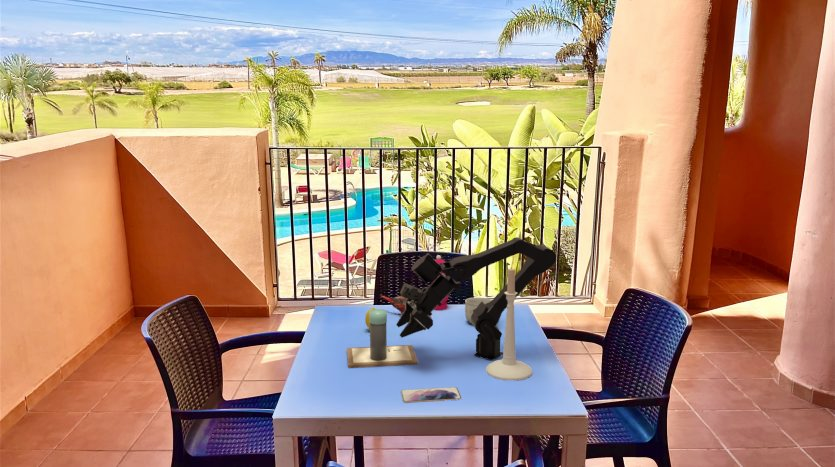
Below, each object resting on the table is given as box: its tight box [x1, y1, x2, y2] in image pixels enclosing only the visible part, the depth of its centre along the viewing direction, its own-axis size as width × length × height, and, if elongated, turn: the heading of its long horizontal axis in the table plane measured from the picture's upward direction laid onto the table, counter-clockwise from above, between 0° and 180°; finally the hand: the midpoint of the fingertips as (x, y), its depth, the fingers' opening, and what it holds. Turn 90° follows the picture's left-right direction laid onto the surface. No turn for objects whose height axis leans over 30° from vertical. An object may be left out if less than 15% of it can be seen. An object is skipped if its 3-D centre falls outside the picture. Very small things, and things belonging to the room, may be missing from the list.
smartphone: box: [400, 386, 462, 404], centre depth 171 cm, size 7×1×15 cm
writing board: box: [346, 344, 419, 369], centre depth 197 cm, size 20×14×1 cm
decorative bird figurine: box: [379, 295, 408, 316], centre depth 236 cm, size 3×18×10 cm, turn 59°
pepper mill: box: [432, 254, 449, 311], centre depth 244 cm, size 7×7×20 cm
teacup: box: [464, 297, 493, 324], centre depth 226 cm, size 14×11×8 cm
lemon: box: [364, 307, 376, 330], centre depth 219 cm, size 6×6×8 cm
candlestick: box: [485, 267, 533, 382], centre depth 183 cm, size 13×13×30 cm
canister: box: [369, 308, 388, 361], centre depth 192 cm, size 5×5×14 cm
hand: (399, 331), depth 193 cm, fingers open, 9 cm apart
